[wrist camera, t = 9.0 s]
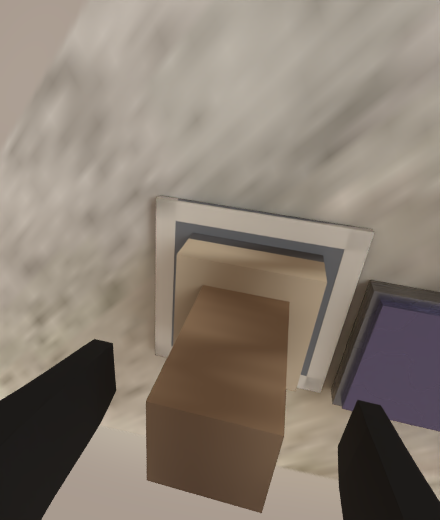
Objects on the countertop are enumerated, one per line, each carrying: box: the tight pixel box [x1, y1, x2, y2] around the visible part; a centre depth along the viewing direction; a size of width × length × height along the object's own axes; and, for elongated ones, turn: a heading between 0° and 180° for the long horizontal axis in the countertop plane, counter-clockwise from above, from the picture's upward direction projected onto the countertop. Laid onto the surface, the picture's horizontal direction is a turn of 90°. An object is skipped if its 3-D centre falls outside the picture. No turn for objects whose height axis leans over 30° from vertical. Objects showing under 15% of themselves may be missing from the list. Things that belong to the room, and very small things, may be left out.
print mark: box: [155, 196, 374, 393], centre depth 14 cm, size 8×8×1 cm
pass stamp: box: [146, 233, 327, 513], centre depth 11 cm, size 5×5×7 cm
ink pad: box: [331, 280, 440, 431], centre depth 13 cm, size 6×6×1 cm
